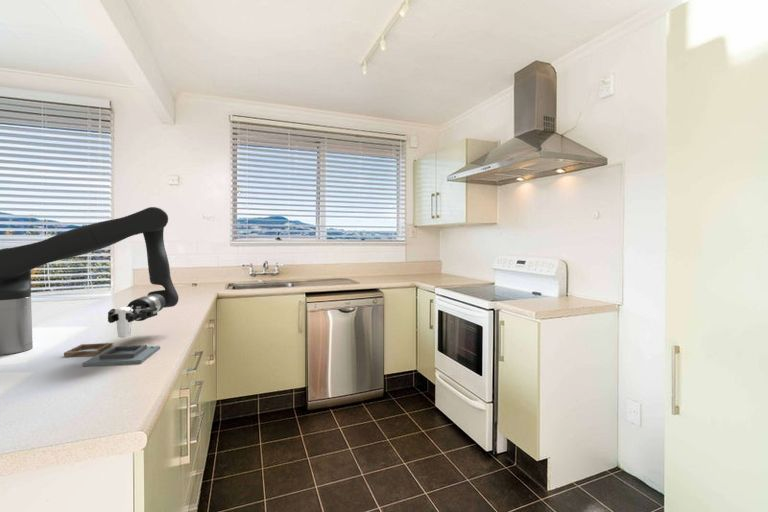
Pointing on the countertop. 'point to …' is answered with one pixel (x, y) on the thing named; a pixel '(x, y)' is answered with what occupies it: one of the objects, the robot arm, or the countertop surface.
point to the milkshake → (123, 321)
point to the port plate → (122, 355)
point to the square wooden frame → (77, 351)
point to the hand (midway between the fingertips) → (119, 319)
